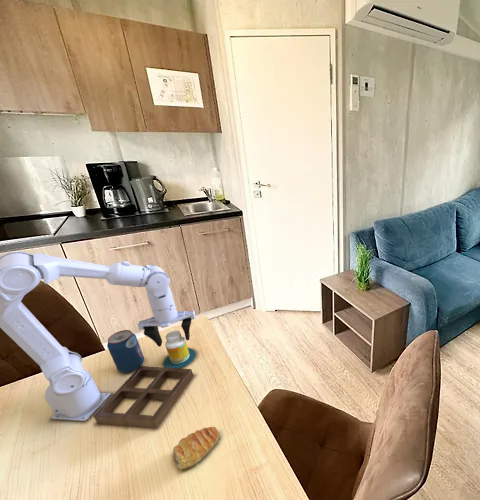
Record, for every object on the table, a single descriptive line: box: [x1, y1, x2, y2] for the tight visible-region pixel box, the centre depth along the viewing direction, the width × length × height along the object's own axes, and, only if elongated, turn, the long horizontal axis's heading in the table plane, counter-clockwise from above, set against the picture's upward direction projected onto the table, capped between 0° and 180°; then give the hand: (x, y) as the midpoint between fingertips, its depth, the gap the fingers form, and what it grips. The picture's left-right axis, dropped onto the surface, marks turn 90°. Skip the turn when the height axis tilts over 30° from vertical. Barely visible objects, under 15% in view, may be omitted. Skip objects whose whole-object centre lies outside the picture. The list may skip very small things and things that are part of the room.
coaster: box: [163, 347, 196, 369], centre depth 92 cm, size 9×9×1 cm
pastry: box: [172, 426, 220, 470], centre depth 66 cm, size 9×7×4 cm
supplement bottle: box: [164, 329, 189, 364], centre depth 90 cm, size 5×5×10 cm
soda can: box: [106, 329, 145, 374], centre depth 86 cm, size 7×7×12 cm
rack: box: [92, 365, 194, 429], centre depth 78 cm, size 16×16×3 cm
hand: (174, 341), depth 89 cm, fingers open, 7 cm apart
